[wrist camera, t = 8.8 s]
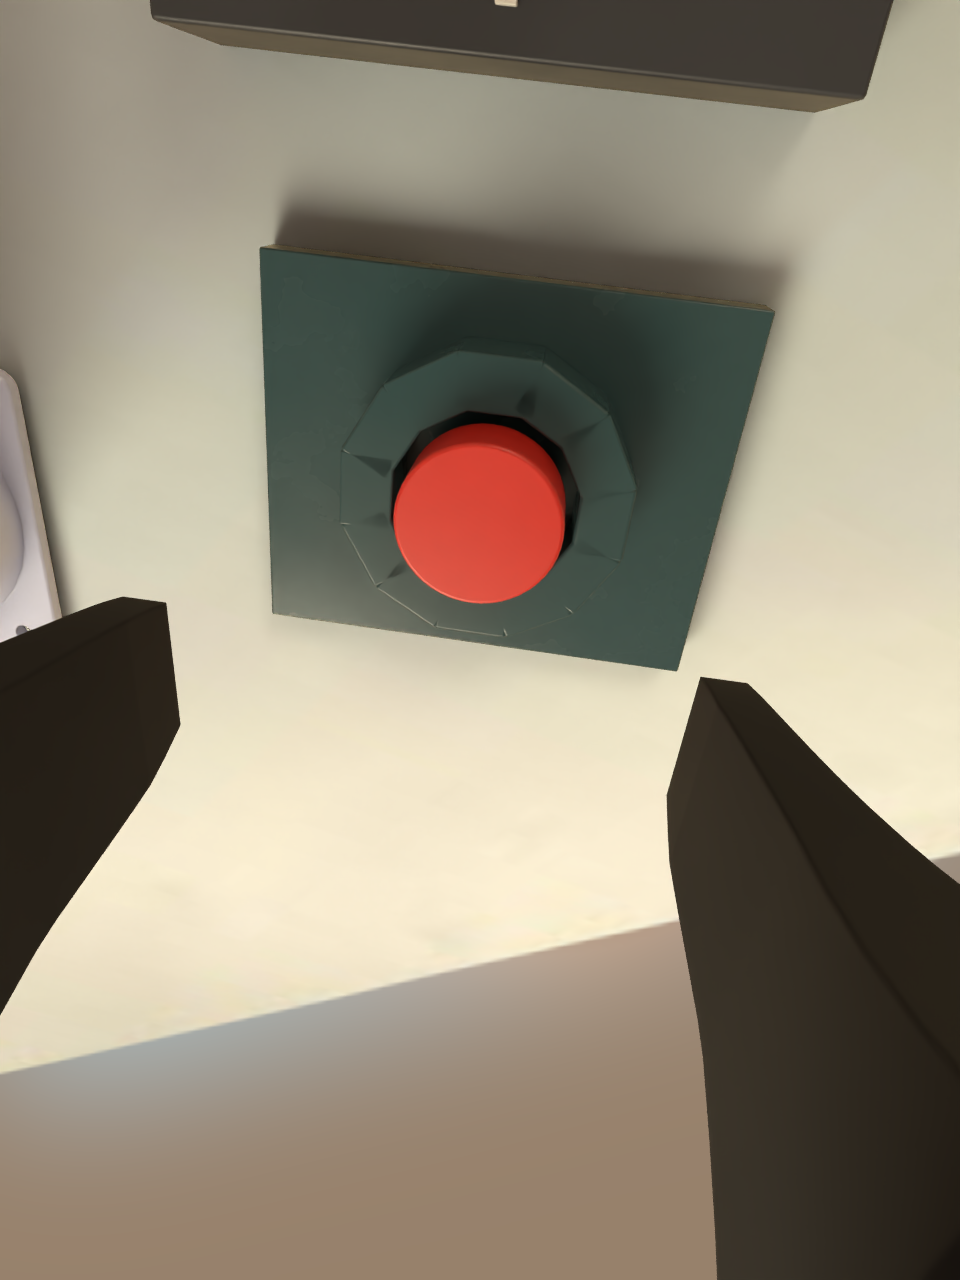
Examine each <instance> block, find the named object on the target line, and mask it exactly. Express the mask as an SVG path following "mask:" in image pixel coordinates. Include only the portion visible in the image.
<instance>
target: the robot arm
mask: <svg viewBox="0 0 960 1280" xmlns="http://www.w3.org/2000/svg"><path fill="white" fill-rule="evenodd" d="M25 626H26V627H28V628H29V629H31V630H30V631H27V630H26V628H25ZM179 727H180V717H179V708H178V699H177V691H176V682H175V674H174V665H173V657H172V648H171V640H170V631H169V623H168V614H167V606H166V603H165V602H158V601H150V600H143V599H136V598H129V597H120V598H116V599H112V600H109V601H106V602H103V603H100V604H97V605H94V606H91V607H88V608H86V609H83V610H80V611H78V612H75V613H73V614H70V615H68V616H65V617H62V615H61V609H60V604H59V599H58V594H57V588H56V583H55V578H54V573H53V567H52V562H51V557H50V552H49V546H48V541H47V536H46V531H45V525H44V520H43V515H42V510H41V504H40V499H39V494H38V489H37V483H36V478H35V473H34V468H33V462H32V457H31V452H30V446H29V441H28V436H27V431H26V425H25V420H24V415H23V410H22V404H21V399H20V394H19V390H18V387H17V384H16V382H15V381H14V380H13V378H12V377H11V376H10V375H9V374H8V373H6V372H5V371H4V370H1V369H0V1015H1V1013H2V1011H3V1009H4V1008H5V1006H6V1004H7V1002H8V1001H9V999H10V997H11V995H12V993H13V992H14V990H15V988H16V986H17V984H18V983H19V981H20V979H21V977H22V976H23V974H24V972H25V970H26V968H27V967H28V965H29V963H30V961H31V959H32V958H33V956H34V954H35V952H36V951H37V949H38V948H39V946H40V944H41V943H42V941H43V940H44V938H45V937H46V935H47V934H48V932H49V930H50V929H51V927H52V926H53V924H54V923H55V921H56V920H57V918H58V917H59V915H60V914H61V912H62V911H63V910H64V908H65V907H66V905H67V904H68V903H69V901H70V900H71V898H72V897H73V895H74V894H75V893H76V891H77V890H78V888H79V887H80V886H81V884H82V883H83V881H84V880H85V878H86V877H87V876H88V874H89V873H90V871H91V870H92V869H93V867H94V866H95V864H96V863H97V861H98V860H99V859H100V857H101V856H102V854H103V853H104V852H105V850H106V849H107V847H108V846H109V845H110V843H111V842H112V840H113V839H114V837H115V836H116V835H117V833H118V832H119V830H120V829H121V827H122V826H123V825H124V823H125V822H126V820H127V819H128V817H129V816H130V814H131V813H132V812H133V810H134V809H135V807H136V806H137V804H138V803H139V801H140V800H141V798H142V797H143V795H144V794H145V792H146V791H147V789H148V788H149V786H150V785H151V783H152V781H153V779H154V777H155V775H156V774H157V772H158V770H159V768H160V766H161V764H162V762H163V760H164V758H165V756H166V754H167V752H168V750H169V748H170V746H171V744H172V742H173V740H174V737H175V735H176V733H177V731H178V729H179ZM667 821H668V843H669V862H670V868H671V874H672V880H673V886H674V891H675V897H676V903H677V909H678V914H679V920H680V925H681V931H682V936H683V942H684V947H685V952H686V958H687V963H688V969H689V974H690V980H691V985H692V991H693V996H694V1002H695V1007H696V1012H697V1018H698V1025H699V1032H700V1039H701V1046H702V1054H703V1062H704V1076H705V1088H706V1101H707V1114H708V1127H709V1140H710V1156H711V1172H712V1188H713V1203H714V1204H713V1205H714V1219H715V1220H714V1221H715V1239H716V1259H717V1260H716V1262H717V1280H960V884H959V883H957V882H956V881H955V880H954V879H952V878H951V877H950V876H948V875H947V874H946V873H944V872H943V871H942V870H941V869H939V868H938V867H937V866H936V865H934V864H933V863H932V862H931V861H930V860H928V859H927V858H926V857H925V856H924V855H923V854H921V853H920V852H919V851H918V850H917V849H915V848H914V847H913V846H912V845H911V844H910V843H908V842H907V841H906V840H905V839H904V838H903V837H902V836H901V835H900V834H898V833H897V832H896V831H895V830H894V829H893V828H892V827H891V826H890V825H888V824H887V823H886V822H885V821H884V820H883V819H882V818H881V817H880V816H879V815H877V814H876V813H875V812H874V811H873V810H872V809H871V808H870V807H869V806H868V805H867V804H866V803H864V802H863V801H862V800H861V799H860V798H859V797H858V796H857V795H856V794H855V793H854V792H853V791H852V790H851V789H850V788H849V787H848V786H847V785H846V784H845V783H844V782H843V781H842V780H841V779H840V778H839V777H838V776H837V775H836V774H835V773H834V772H833V771H832V770H831V769H830V768H829V767H828V766H827V765H826V764H825V763H824V762H823V761H822V760H821V759H820V758H819V757H818V756H817V755H816V754H815V753H814V752H813V751H812V750H811V749H810V748H809V746H808V745H807V744H806V743H805V742H804V741H803V740H802V739H801V738H800V737H799V736H798V735H797V734H796V733H795V732H794V731H793V730H792V729H791V727H790V726H789V725H788V724H787V723H786V722H785V721H784V720H783V719H782V718H781V717H780V716H779V715H778V714H777V713H776V712H775V710H774V709H773V708H772V707H771V706H770V705H769V704H768V703H767V702H766V701H765V700H764V699H763V698H762V697H761V696H760V695H759V694H758V693H757V692H756V691H755V690H754V689H753V688H752V687H751V686H750V685H749V684H748V683H741V682H734V681H727V680H720V679H712V678H705V677H700V681H699V684H698V688H697V691H696V695H695V698H694V702H693V705H692V709H691V712H690V716H689V719H688V723H687V726H686V730H685V733H684V737H683V740H682V744H681V747H680V751H679V754H678V758H677V761H676V765H675V768H674V772H673V775H672V779H671V782H670V786H669V789H668V793H667Z"/></svg>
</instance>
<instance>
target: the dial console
mask: <svg viewBox="0 0 960 1280" xmlns="http://www.w3.org/2000/svg"><path fill="white" fill-rule="evenodd" d="M892 4H893V0H150V6H151V15H152V18H153V19H154V20H156V21H158V22H161V23H163V24H166V25H169V26H171V27H174V28H177V29H179V30H182V31H185V32H188V33H190V34H193V35H196V36H198V37H201V38H204V39H206V40H209V41H212V42H214V43H217V44H220V45H226V46H234V47H243V48H252V49H261V50H270V51H278V52H287V53H296V54H305V55H313V56H322V57H331V58H340V59H349V60H357V61H366V62H375V63H384V64H393V65H401V66H410V67H419V68H428V69H436V70H445V71H454V72H463V73H472V74H480V75H489V76H498V77H507V78H516V79H524V80H533V81H542V82H551V83H559V84H568V85H577V86H586V87H595V88H603V89H612V90H621V91H630V92H639V93H647V94H656V95H665V96H674V97H682V98H691V99H700V100H709V101H718V102H726V103H735V104H744V105H753V106H762V107H770V108H779V109H788V110H797V111H806V112H814V113H815V112H819V111H822V110H826V109H830V108H833V107H837V106H841V105H844V104H848V103H851V102H855V101H859V100H862V99H864V97H865V96H866V94H867V90H868V87H869V83H870V80H871V77H872V73H873V70H874V66H875V63H876V59H877V56H878V52H879V49H880V45H881V42H882V38H883V35H884V32H885V28H886V25H887V21H888V18H889V14H890V11H891V7H892Z"/></svg>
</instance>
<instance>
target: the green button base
mask: <svg viewBox="0 0 960 1280" xmlns="http://www.w3.org/2000/svg"><path fill="white" fill-rule="evenodd" d="M260 277H261V305H262V333H263V361H264V389H265V417H266V445H267V473H268V501H269V529H270V557H271V585H272V612H273V614H279V615H286V616H293V617H300V618H307V619H314V620H321V621H328V622H335V623H342V624H349V625H356V626H363V627H370V628H377V629H384V630H391V631H398V632H405V633H412V634H419V635H426V636H433V637H440V638H447V639H454V640H461V641H468V642H475V643H482V644H489V645H496V646H503V647H510V648H517V649H524V650H531V651H538V652H545V653H552V654H559V655H566V656H573V657H580V658H587V659H594V660H601V661H608V662H615V663H622V664H629V665H636V666H643V667H650V668H657V669H664V670H671V671H677V670H678V667H679V664H680V660H681V656H682V653H683V649H684V645H685V642H686V638H687V634H688V631H689V627H690V623H691V620H692V616H693V612H694V609H695V605H696V601H697V598H698V594H699V590H700V587H701V583H702V579H703V576H704V572H705V568H706V565H707V561H708V557H709V553H710V550H711V546H712V542H713V539H714V535H715V531H716V528H717V524H718V520H719V517H720V513H721V509H722V506H723V502H724V498H725V495H726V491H727V487H728V484H729V480H730V476H731V473H732V469H733V465H734V462H735V458H736V454H737V451H738V447H739V443H740V440H741V436H742V432H743V429H744V425H745V421H746V418H747V414H748V410H749V406H750V403H751V399H752V395H753V392H754V388H755V384H756V381H757V377H758V373H759V370H760V366H761V362H762V359H763V355H764V351H765V348H766V344H767V340H768V337H769V333H770V329H771V326H772V322H773V318H774V315H775V311H773V310H772V309H771V308H769V307H768V306H766V305H761V304H753V303H745V302H737V301H729V300H721V299H713V298H704V297H696V296H688V295H680V294H672V293H664V292H656V291H648V290H640V289H632V288H624V287H616V286H607V285H599V284H591V283H583V282H575V281H567V280H559V279H551V278H543V277H535V276H527V275H519V274H510V273H502V272H494V271H486V270H478V269H470V268H462V267H454V266H446V265H438V264H430V263H422V262H414V261H405V260H397V259H389V258H381V257H373V256H365V255H357V254H349V253H341V252H333V251H325V250H317V249H308V248H300V247H292V246H284V245H276V244H273V245H268V246H264V247H260ZM478 423H487V424H496V425H501V426H506V427H509V428H512V429H515V430H517V431H519V432H521V433H523V434H525V435H526V436H528V437H529V438H531V439H532V440H534V441H535V442H536V443H537V444H539V445H540V446H541V447H542V448H543V449H544V450H545V451H546V453H547V454H548V455H549V456H550V457H551V459H552V460H553V462H554V463H555V465H556V467H557V469H558V471H559V473H560V476H561V479H562V482H563V485H564V491H565V502H566V508H565V530H564V539H563V543H562V548H561V550H560V553H559V556H558V558H557V560H556V562H555V563H554V565H553V567H552V568H551V570H550V571H549V572H548V574H547V575H546V576H545V577H544V578H543V579H542V580H541V581H540V582H539V583H538V584H536V585H535V586H534V587H533V588H531V589H530V590H528V591H526V592H525V593H523V594H521V595H519V596H516V597H514V598H512V599H508V600H505V601H501V602H495V603H469V602H464V601H459V600H456V599H453V598H450V597H448V596H445V595H443V594H441V593H439V592H437V591H436V590H434V589H433V588H431V587H430V586H428V585H427V584H426V583H424V582H423V581H422V580H421V579H420V578H419V577H418V576H417V575H416V574H415V573H414V572H413V570H412V569H411V568H410V567H409V565H408V564H407V562H406V560H405V559H404V557H403V556H402V553H401V551H400V549H399V547H398V543H397V540H396V537H395V531H394V519H393V514H394V506H395V502H396V498H397V494H398V492H399V489H400V487H401V485H402V483H403V481H404V479H405V478H406V476H407V474H408V473H409V471H410V469H411V467H412V466H413V464H414V462H415V461H416V459H417V457H418V456H419V454H420V453H421V452H422V451H423V449H424V448H425V447H426V446H427V445H428V444H429V443H430V442H432V441H433V440H434V439H436V438H437V437H438V436H440V435H441V434H443V433H445V432H447V431H449V430H451V429H454V428H457V427H460V426H464V425H469V424H478Z"/></svg>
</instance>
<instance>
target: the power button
mask: <svg viewBox="0 0 960 1280" xmlns="http://www.w3.org/2000/svg"><path fill="white" fill-rule="evenodd" d="M565 508H566V502H565V491H564V485H563V482H562V479H561V476H560V473H559V471H558V469H557V467H556V465H555V463H554V462H553V460H552V459H551V457H550V456H549V455H548V454H547V453H546V451H545V450H544V449H543V448H542V447H541V446H540V445H539V444H537V443H536V442H535V441H534V440H532V439H531V438H529V437H528V436H526V435H525V434H523V433H521V432H519V431H517V430H515V429H512V428H509V427H506V426H501V425H496V424H487V423H478V424H469V425H464V426H460V427H457V428H454V429H451V430H449V431H447V432H445V433H443V434H441V435H440V436H438V437H437V438H436V439H434V440H433V441H432V442H430V443H429V444H428V445H427V446H426V447H425V448H424V449H423V451H422V452H421V453H420V454H419V456H418V457H417V459H416V461H415V462H414V464H413V466H412V467H411V469H410V471H409V473H408V474H407V476H406V478H405V479H404V481H403V483H402V485H401V487H400V489H399V492H398V494H397V498H396V502H395V506H394V514H393V519H394V531H395V537H396V540H397V543H398V547H399V549H400V551H401V553H402V556H403V557H404V559H405V560H406V562H407V564H408V565H409V567H410V568H411V569H412V570H413V572H414V573H415V574H416V575H417V576H418V577H419V578H420V579H421V580H422V581H423V582H424V583H426V584H427V585H428V586H430V587H431V588H433V589H434V590H436V591H437V592H439V593H441V594H443V595H445V596H448V597H450V598H453V599H456V600H459V601H464V602H469V603H495V602H501V601H505V600H508V599H512V598H514V597H516V596H519V595H521V594H523V593H525V592H526V591H528V590H530V589H531V588H533V587H534V586H535V585H536V584H538V583H539V582H540V581H541V580H542V579H543V578H544V577H545V576H546V575H547V574H548V572H549V571H550V570H551V568H552V567H553V565H554V563H555V562H556V560H557V558H558V556H559V553H560V550H561V548H562V543H563V539H564V530H565Z"/></svg>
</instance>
